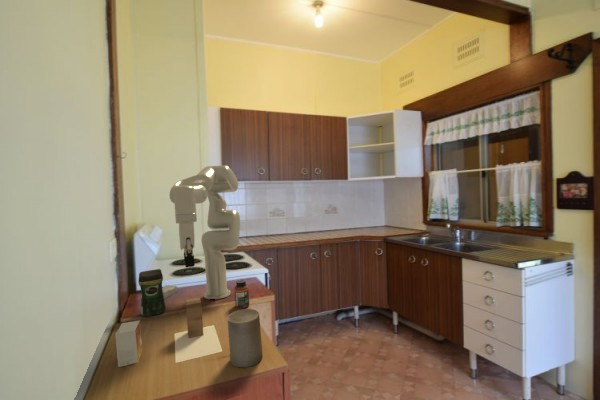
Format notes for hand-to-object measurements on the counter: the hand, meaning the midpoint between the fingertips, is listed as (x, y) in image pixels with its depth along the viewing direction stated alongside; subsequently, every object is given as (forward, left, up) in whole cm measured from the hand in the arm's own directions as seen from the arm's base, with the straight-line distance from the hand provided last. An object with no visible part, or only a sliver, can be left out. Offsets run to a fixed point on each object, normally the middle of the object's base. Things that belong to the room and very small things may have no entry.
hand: (189, 263), depth 121 cm
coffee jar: (-21, -15, -24) cm, 35 cm away
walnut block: (+9, 0, -23) cm, 25 cm away
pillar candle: (+33, +13, -24) cm, 43 cm away
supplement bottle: (-9, +21, -24) cm, 33 cm away
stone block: (-44, -11, -24) cm, 51 cm away
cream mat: (+15, 0, -24) cm, 28 cm away
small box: (+16, -20, -24) cm, 35 cm away
